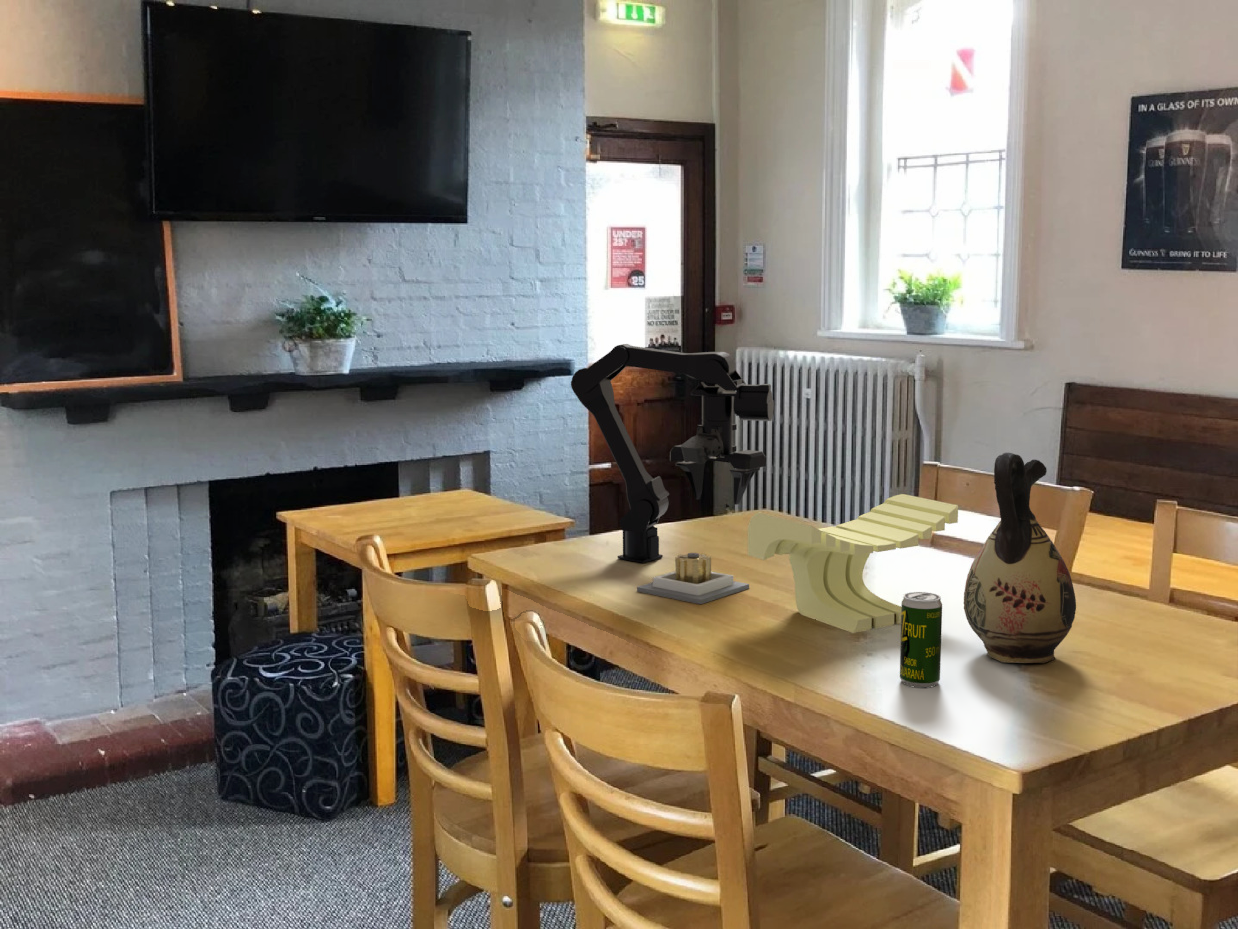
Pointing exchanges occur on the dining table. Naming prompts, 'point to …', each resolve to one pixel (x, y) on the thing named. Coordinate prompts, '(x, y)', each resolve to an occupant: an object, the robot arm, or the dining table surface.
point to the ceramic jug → (1019, 576)
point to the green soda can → (920, 639)
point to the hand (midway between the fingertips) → (716, 501)
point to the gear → (693, 568)
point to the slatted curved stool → (847, 557)
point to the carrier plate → (693, 588)
